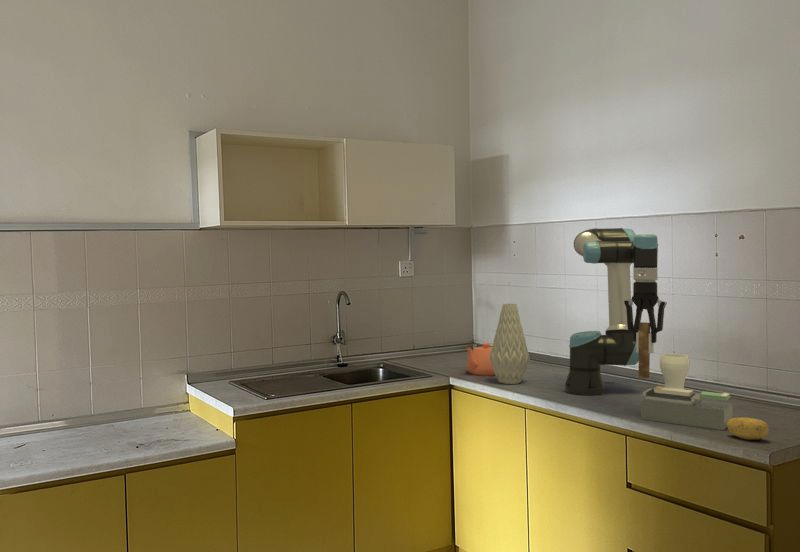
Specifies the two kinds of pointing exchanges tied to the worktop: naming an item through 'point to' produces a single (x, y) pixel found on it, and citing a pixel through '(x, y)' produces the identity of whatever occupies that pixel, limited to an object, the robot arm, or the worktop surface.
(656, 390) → the rocker
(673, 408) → the grey storage bin
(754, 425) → the potato
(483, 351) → the teapot
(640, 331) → the brown rounded rod
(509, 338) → the vase
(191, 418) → the worktop surface
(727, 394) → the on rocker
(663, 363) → the cup
